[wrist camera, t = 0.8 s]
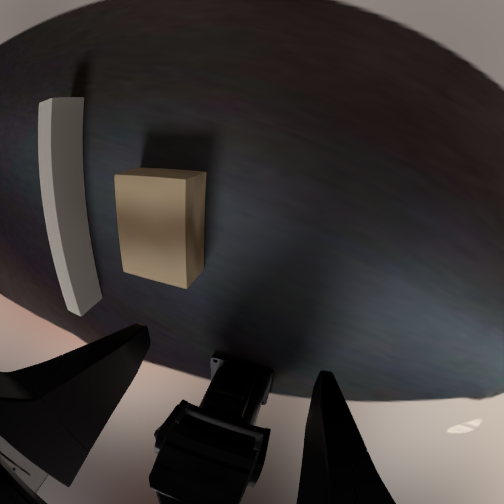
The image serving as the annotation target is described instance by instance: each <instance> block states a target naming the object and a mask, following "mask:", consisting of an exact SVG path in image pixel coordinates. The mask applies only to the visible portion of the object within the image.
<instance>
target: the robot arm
mask: <svg viewBox="0 0 504 504" xmlns="http://www.w3.org/2000/svg"><path fill="white" fill-rule="evenodd" d="M149 347H150V336H149V331H148V327H147V326H146V325H143V324H140V323H135V324H133V325H131V326H129V327H126V328H124V329H122V330H119V331H117V332H115V333H112V334H110V335H108V336H105V337H103V338H101V339H98V340H96V341H94V342H91V343H89V344H87V345H85V346H82V347H80V348H77V349H75V350H73V351H70V352H68V353H65V354H63V355H60V356H58V357H56V358H53V359H51V360H48V361H45V362H43V363H40V364H36V365H33V366H30V367H27V368H23V369H19V370H16V371H13V372H0V504H47V503H46V502H45V501H44V500H42V499H41V498H40V497H39V496H38V495H37V494H36V492H37V491H38V489H39V488H40V487H41V485H42V484H43V482H44V481H45V479H46V478H47V476H48V475H50V476H52V477H53V478H55V479H56V480H58V481H59V482H61V483H62V484H64V485H66V486H67V487H70V485H71V484H72V482H73V480H74V478H75V476H76V475H77V473H78V471H79V469H80V467H81V466H82V464H83V462H84V461H85V459H86V457H87V455H88V454H89V451H90V450H91V448H92V447H93V445H94V443H95V441H96V440H97V438H98V436H99V435H100V433H101V431H102V430H103V428H104V426H105V424H106V423H107V421H108V419H109V418H110V416H111V415H112V413H113V411H114V410H115V408H116V406H117V405H118V403H119V402H120V400H121V398H122V397H123V395H124V394H125V392H126V390H127V389H128V387H129V386H130V384H131V382H132V381H133V379H134V377H135V375H136V374H137V372H138V369H139V367H140V365H141V363H142V361H143V359H144V357H145V355H146V353H147V351H148V349H149ZM273 373H274V372H273V370H272V369H270V368H265V367H261V366H256V365H252V364H248V363H244V362H240V361H236V360H232V359H228V358H224V357H221V356H217V355H213V356H212V357H211V383H210V385H209V387H208V389H207V391H206V394H205V395H204V397H203V399H202V402H201V404H200V406H199V407H198V406H195V405H193V404H190V403H188V402H187V401H185V400H182V401H181V402H180V404H179V405H177V406H176V407H175V408H174V410H173V411H172V413H171V414H170V415H169V417H168V418H167V419H166V421H165V422H164V423H163V424H162V425H161V426H160V427H159V428H158V429H157V430H156V431H155V433H154V436H155V438H156V443H155V448H154V451H155V453H157V454H158V455H157V458H156V460H155V463H154V466H153V469H152V471H151V473H150V475H149V482H150V487H151V489H154V490H155V491H156V493H157V496H158V499H159V503H160V504H239V503H240V501H241V499H242V497H243V494H244V492H245V490H246V487H247V486H250V487H254V485H255V484H256V482H257V480H258V478H259V476H260V473H261V471H262V468H263V465H264V461H265V457H266V452H267V447H268V441H269V436H270V431H271V430H270V429H268V428H261V427H258V426H255V423H256V420H257V417H258V413H259V410H260V407H261V405H265V404H266V402H267V398H268V394H269V390H270V386H271V382H272V377H273ZM297 504H396V503H395V502H394V500H393V498H392V497H391V495H390V493H389V492H388V490H387V488H386V487H385V485H384V483H383V482H382V480H381V478H380V476H379V474H378V473H377V471H376V469H375V466H374V464H373V462H372V460H371V457H370V455H369V453H368V452H367V448H366V446H365V444H364V441H363V439H362V437H361V435H360V432H359V430H358V428H357V425H356V423H355V421H354V419H353V416H352V415H351V412H350V410H349V408H348V405H347V403H346V401H345V399H344V396H343V394H342V392H341V390H340V388H339V385H338V383H337V381H336V379H335V377H334V375H333V373H332V372H330V371H324V370H322V371H320V372H319V375H318V377H317V380H316V382H315V385H314V388H313V393H312V398H311V403H310V408H309V413H308V417H307V422H306V429H305V438H304V448H303V458H302V468H301V475H300V483H299V490H298V498H297Z"/></svg>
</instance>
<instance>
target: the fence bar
mask: <svg viewBox="0 0 504 504" xmlns="http://www.w3.org/2000/svg"><path fill="white" fill-rule="evenodd" d="M83 109H84V97H63V98H51V99H48V100H46V101H43V102H41V103H39V117H38V154H39V172H40V184H41V194H42V202H43V209H44V216H45V222H46V228H47V233H48V238H49V243H50V248H51V252H52V256H53V261H54V265H55V268H56V272H57V276H58V280H59V283H60V287H61V290H62V293H63V296H64V299H65V303H66V306H67V309H68V310H69V311H71V312H73V313H75V314H77V315H79V316H82V315H84V314H85V313H86V312H87V311H88V310H89V309H90V308H91V307H93V306H94V305H95V304H96V303H97V302H98V301H99V300H101V299H102V294H101V290H100V285H99V281H98V276H97V272H96V267H95V262H94V256H93V251H92V245H91V239H90V232H89V225H88V217H87V209H86V199H85V187H84V172H83Z"/></svg>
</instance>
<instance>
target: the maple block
mask: <svg viewBox="0 0 504 504" xmlns="http://www.w3.org/2000/svg"><path fill="white" fill-rule="evenodd" d="M205 190H206V172H201V171H189V170H176V169H161V168H141V167H140V168H136V169H133V170H129V171H125V172H122V173H118V174H115V195H116V210H117V222H118V232H119V241H120V249H121V257H122V264H123V270H124V272H127V273H130V274H134V275H137V276H141V277H144V278H148V279H151V280H155V281H159V282H162V283H166V284H170V285H173V286H177V287H181V288H185V289H187V288H188V287H189V286H190V285H191V284H192V282H193V281H194V280H195V279H196V278H197V276H198V275H199V274H200V273H201V272H202V271H203V269H204V219H205Z"/></svg>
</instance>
